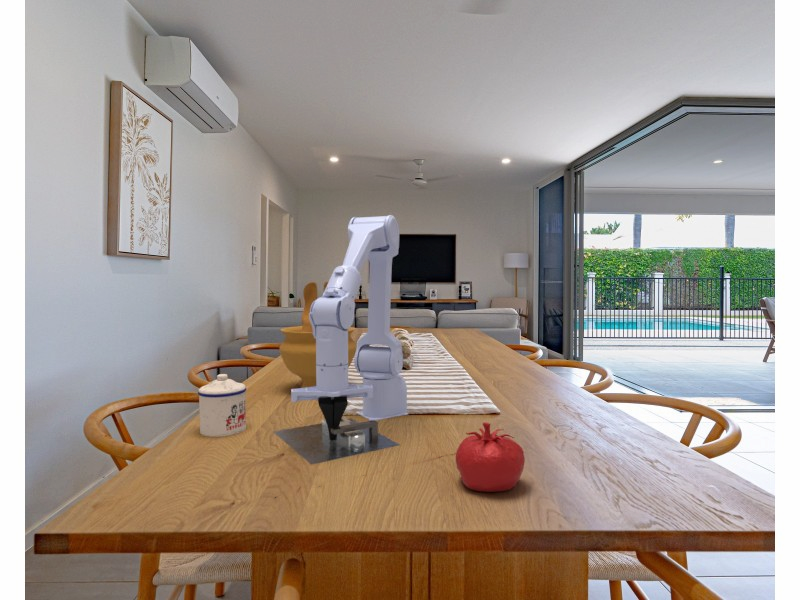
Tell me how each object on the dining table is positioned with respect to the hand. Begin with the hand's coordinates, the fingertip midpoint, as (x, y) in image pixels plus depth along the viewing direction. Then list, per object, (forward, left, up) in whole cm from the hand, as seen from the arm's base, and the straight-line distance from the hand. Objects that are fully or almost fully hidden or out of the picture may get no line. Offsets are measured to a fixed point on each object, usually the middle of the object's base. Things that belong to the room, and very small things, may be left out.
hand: (332, 438), depth 87 cm
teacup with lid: (+14, -21, -2) cm, 25 cm away
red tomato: (-13, +27, -2) cm, 30 cm away
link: (-3, -1, -1) cm, 3 cm away
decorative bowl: (-16, -45, -2) cm, 48 cm away
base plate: (-2, -3, -2) cm, 4 cm away
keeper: (-3, +3, -2) cm, 5 cm away
